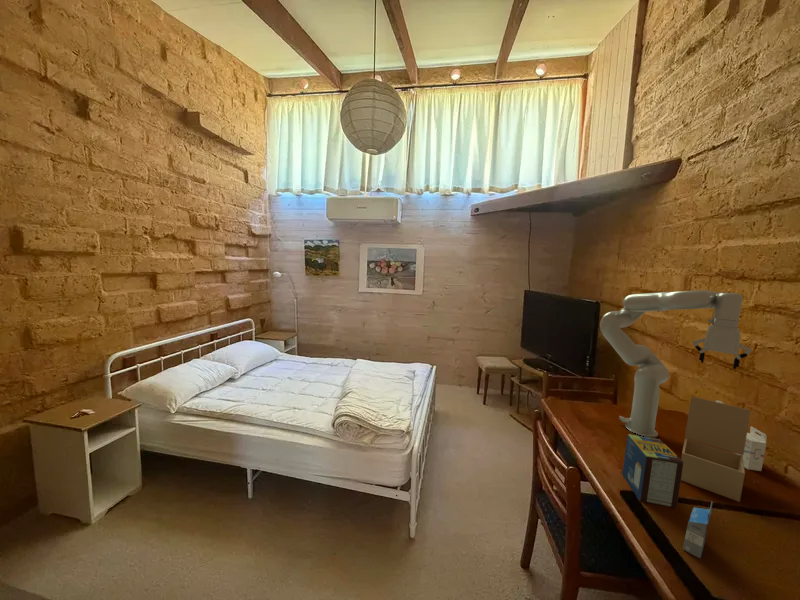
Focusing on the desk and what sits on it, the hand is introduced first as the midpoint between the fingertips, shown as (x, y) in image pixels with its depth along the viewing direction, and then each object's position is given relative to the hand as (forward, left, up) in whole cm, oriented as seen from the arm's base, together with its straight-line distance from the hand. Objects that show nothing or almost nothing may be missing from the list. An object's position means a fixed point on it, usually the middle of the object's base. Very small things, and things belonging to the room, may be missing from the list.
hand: (717, 365), depth 139 cm
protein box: (-13, -48, -39) cm, 63 cm away
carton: (+2, -23, -38) cm, 45 cm away
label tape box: (0, -68, -39) cm, 78 cm away
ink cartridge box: (+13, +5, -38) cm, 41 cm away
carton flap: (+2, -14, -20) cm, 24 cm away
